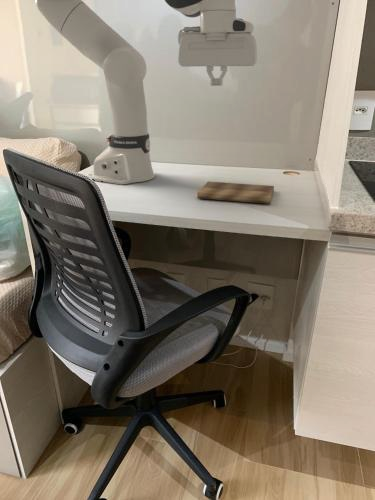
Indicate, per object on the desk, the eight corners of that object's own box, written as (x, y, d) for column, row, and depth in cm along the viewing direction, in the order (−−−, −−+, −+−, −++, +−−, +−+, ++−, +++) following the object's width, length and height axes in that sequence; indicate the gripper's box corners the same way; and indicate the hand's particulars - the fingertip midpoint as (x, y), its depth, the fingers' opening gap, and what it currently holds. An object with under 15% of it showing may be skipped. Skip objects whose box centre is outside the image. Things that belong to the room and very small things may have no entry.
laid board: (203, 192, 117) (203, 186, 116) (207, 186, 122) (208, 181, 121) (271, 197, 112) (272, 191, 111) (273, 191, 117) (274, 185, 116)
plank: (197, 198, 110) (197, 192, 110) (203, 192, 116) (203, 187, 116) (269, 203, 105) (270, 197, 105) (271, 197, 111) (272, 192, 111)
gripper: (174, 26, 98) (175, 86, 104) (256, 23, 93) (253, 86, 99) (181, 28, 104) (182, 84, 110) (259, 25, 99) (256, 85, 105)
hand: (216, 85), depth 105 cm, fingers closed
